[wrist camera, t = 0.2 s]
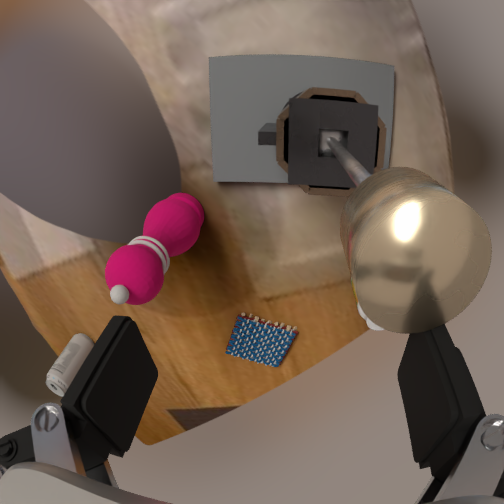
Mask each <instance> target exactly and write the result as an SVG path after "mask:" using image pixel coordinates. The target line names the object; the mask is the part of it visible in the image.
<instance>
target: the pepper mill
mask: <svg viewBox="0 0 504 504" xmlns="http://www.w3.org/2000/svg"><path fill="white" fill-rule="evenodd" d="M203 221H204V211H203V208H202V206H201V204H200V203H199V201H198V200H197V199H196V198H194V197H193V196H191V195H189V194H186V193H176V194H173V195H171V196H170V197H168V198H167V199H165V200H162V201H160V202H158V203H157V204H155V205H154V206H153V208H152V209H151V210H150V211H149V213H148V215H147V217H146V220H145V223H144V230H143V236H140V237H137V238H134V239H133V240H132V241H131V242H130V243H129V244H128V245H126V246H123V247H121V248H119V249H117V250H116V251H115V252H114V253H113V254H112V255H111V257H110V258H109V260H108V262H107V265H106V269H105V279H106V283H107V285H108V287H109V289H110V291H111V292H110V296H111V299H112V300H113V301H114V302H115V303H117V304H123V303H128V304H132V305H140V304H145V303H147V302H149V301H150V300H152V299H153V298H154V297H155V296H156V295H157V294H158V293H159V291H160V290H161V288H162V285H163V281H164V274H165V272H166V271H167V269H168V267H169V258H170V257H172V256H176V255H179V254H182V253H183V252H185V251H187V250H189V249H190V248H191V247H192V246H193V245H194V243H195V242H196V241H197V239H198V237H199V234H200V227H201V226H202V224H203Z"/></svg>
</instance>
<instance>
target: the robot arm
mask: <svg viewBox="0 0 504 504" xmlns="http://www.w3.org/2000/svg"><path fill="white" fill-rule="evenodd" d="M157 378H158V370H157V368H156V366H155V364H154V362H153V359H152V357H151V355H150V353H149V351H148V349H147V347H146V345H145V342H144V340H143V338H142V336H141V333H140V331H139V329H138V327H137V324H136V323H135V321H133V320H132V319H131V318H130V317H128V316H113V317H112V319H111V320H110V322H109V323H108V325H107V326H106V328H105V329H104V331H103V332H102V334H101V335H100V337H99V339H98V340H97V342H96V343H95V345H94V346H93V348H92V349H91V351H90V353H89V354H88V356H87V357H86V359H85V361H84V362H83V364H82V366H81V367H80V369H79V371H78V372H77V374H76V375H75V377H74V379H73V381H72V382H71V384H70V386H69V387H68V389H67V391H66V392H65V394H64V396H63V398H62V399H61V403H62V406H61V407H60V406H59V405H57V404H55V403H46V404H43V405H41V406H40V407H39V408H38V409H36V411H35V412H34V414H33V416H32V419H31V425H29V426H27V427H25V428H22V429H20V430H18V431H16V432H13V433H10V434H8V435H5V436H4V437H2V438H1V439H0V504H171V503H167V502H163V501H158V500H155V499H151V498H147V497H144V496H141V495H137V494H134V493H131V492H127V491H124V490H121V489H119V487H118V485H117V482H116V480H115V478H114V475H113V472H112V470H111V467H110V464H109V462H108V459H107V458H108V456H109V453H110V454H112V455H116V456H119V457H123V455H124V453H125V452H127V451H128V450H129V448H130V446H131V443H132V440H133V438H134V436H135V433H136V430H137V428H138V425H139V423H140V420H141V418H142V415H143V413H144V410H145V408H146V405H147V403H148V400H149V398H150V395H151V393H152V390H153V388H154V385H155V383H156V381H157ZM398 381H399V386H400V390H401V395H402V399H403V404H404V408H405V413H406V418H407V423H408V428H409V433H410V439H411V445H412V451H413V457H414V461H415V462H416V463H418V462H419V465H420V469H422V468H426V467H430V468H431V474H432V478H431V479H430V481H429V483H428V484H427V486H426V488H425V489H424V491H423V492H422V493H421V495H420V497H419V498H418V499H417V501H416V502H415V504H504V416H502V415H499V414H492V415H491V414H490V415H488V416H486V414H485V411H484V409H483V406H482V403H481V400H480V397H479V395H478V392H477V389H476V387H475V384H474V382H473V379H472V377H471V374H470V372H469V369H468V367H467V365H466V362H465V360H464V358H463V356H462V353H461V352H460V350H459V349H458V348H457V347H455V346H454V344H453V341H452V339H451V337H450V335H449V333H448V331H447V328H446V326H445V324H443V325H441V326H439V327H436V328H434V329H431V330H428V331H424V332H419V333H410V335H409V338H408V341H407V345H406V348H405V351H404V354H403V357H402V360H401V363H400V366H399V369H398Z"/></svg>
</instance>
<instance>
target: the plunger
mask: <svg viewBox="0 0 504 504" xmlns="http://www.w3.org/2000/svg"><path fill="white" fill-rule="evenodd" d="M346 145H347V131H344V130H332V129H319V145H318V156H324V157H336V158H337V159H338V160H339V162H340V163H341V165H342V166H343V168H344V169H345V170H346V172H347V173H348V175H349V176H350V178H351V179H352V181H353V182H354V184H355V185H356V186H357V187H356V188H355V190H354V191H353V192H352V193H351V195H350V197H349V198H348V200H347V202H346V204H345V206H344V209H343V212H342V215H341V221H340V236H341V241H342V245H343V248H344V252H345V255H346V259H347V262H348V266H349V269H350V273H351V277H352V281H353V284H354V288H355V292H356V296H357V299H358V302H359V305H360V307H361V309H362V311H363V312H364V314H365V315H366V316H367V317H368V318H369V319H370V320H371V321H372V322H373V323H374V324H376V325H377V326H379V327H381V328H383V329H385V330H388V331H392V332H396V333H419V332H424V331H428V330H431V329H434V328H436V327H439V326H441V325H443V324H445V323H446V322H448V321H450V320H451V319H453V318H454V317H456V316H457V315H458V314H459V313H461V312H462V311H463V310H464V309H465V308H466V307H467V306H468V305H469V304H470V303H471V302H472V300H473V299H474V298H475V297H476V295H477V294H478V292H479V291H480V289H481V287H482V286H483V284H484V281H485V279H486V277H487V274H488V271H489V267H490V263H491V254H492V250H491V249H492V247H491V239H490V234H489V231H488V229H487V226H486V224H485V223H484V221H483V219H482V218H481V217H480V216H479V214H478V213H477V212H476V211H474V210H473V209H472V208H471V207H470V206H469V205H467V204H466V203H465V202H463V201H462V200H461V199H460V198H458V197H457V196H456V195H454V194H453V193H452V192H450V191H449V190H448V189H446V188H445V187H444V186H442V185H441V184H440V183H438V182H437V181H435V180H434V179H433V178H431V177H430V176H428V175H427V174H425V173H423V172H421V171H419V170H416V169H413V168H408V167H393V168H388V169H384V170H381V171H379V172H376V173H374V174H373V175H371V174H370V173H369V172H368V171H367V170H366V169H365V168H364V167H363V166H362V165H361V164H360V163H359V162H358V161H357V160H356V159H355V158H354V157H353V156H352V155H351V154H350V152H349V151H348V150H346Z"/></svg>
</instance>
